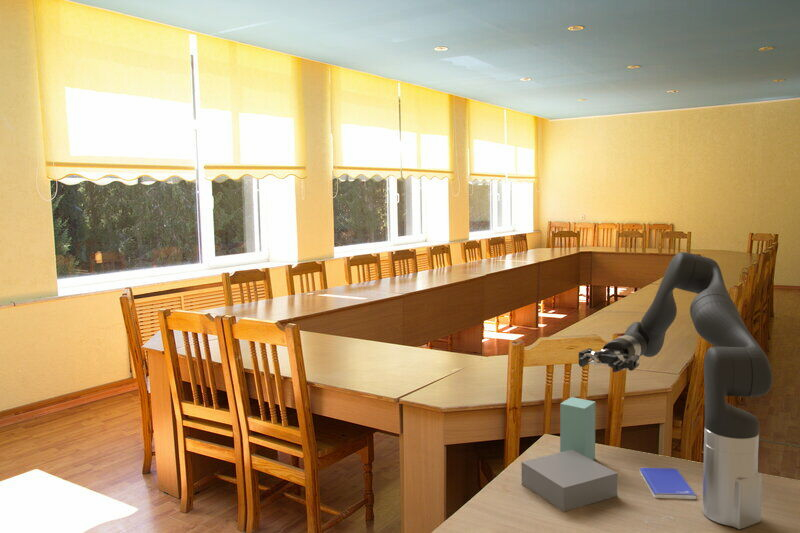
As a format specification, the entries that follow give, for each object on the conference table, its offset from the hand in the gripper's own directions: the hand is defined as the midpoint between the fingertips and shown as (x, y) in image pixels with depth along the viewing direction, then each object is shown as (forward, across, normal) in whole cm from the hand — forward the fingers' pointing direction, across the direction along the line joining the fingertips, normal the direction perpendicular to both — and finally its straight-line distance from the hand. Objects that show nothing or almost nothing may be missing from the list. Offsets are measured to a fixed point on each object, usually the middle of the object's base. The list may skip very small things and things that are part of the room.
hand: (597, 365), depth 156 cm
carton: (+11, 0, +20) cm, 23 cm away
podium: (+27, +5, +20) cm, 34 cm away
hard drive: (+12, +21, +21) cm, 32 cm away
